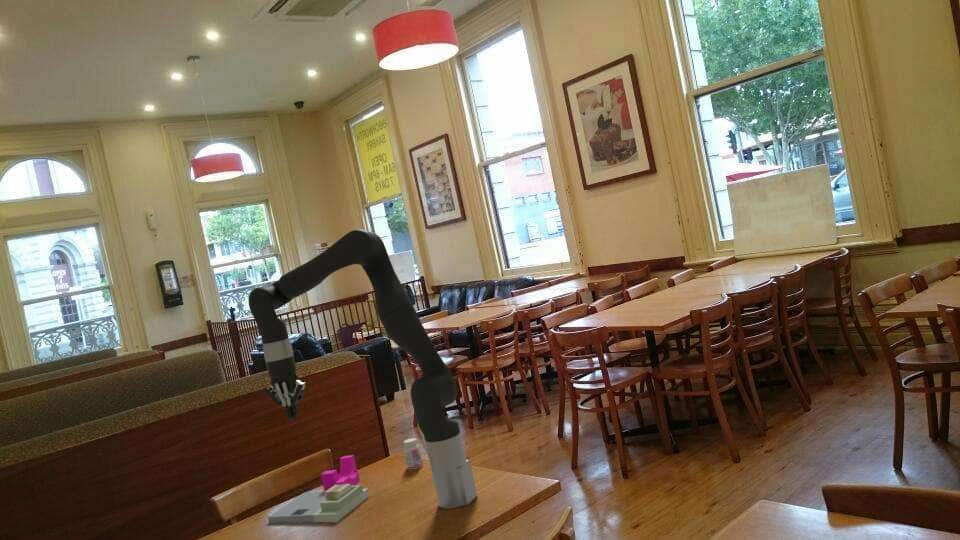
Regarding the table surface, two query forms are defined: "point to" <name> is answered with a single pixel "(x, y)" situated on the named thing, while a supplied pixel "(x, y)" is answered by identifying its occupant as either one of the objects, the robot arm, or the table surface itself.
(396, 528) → the table surface
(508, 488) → the table surface
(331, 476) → the toy block
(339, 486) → the birch block
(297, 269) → the robot arm
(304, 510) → the board
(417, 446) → the pill bottle
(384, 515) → the table surface
